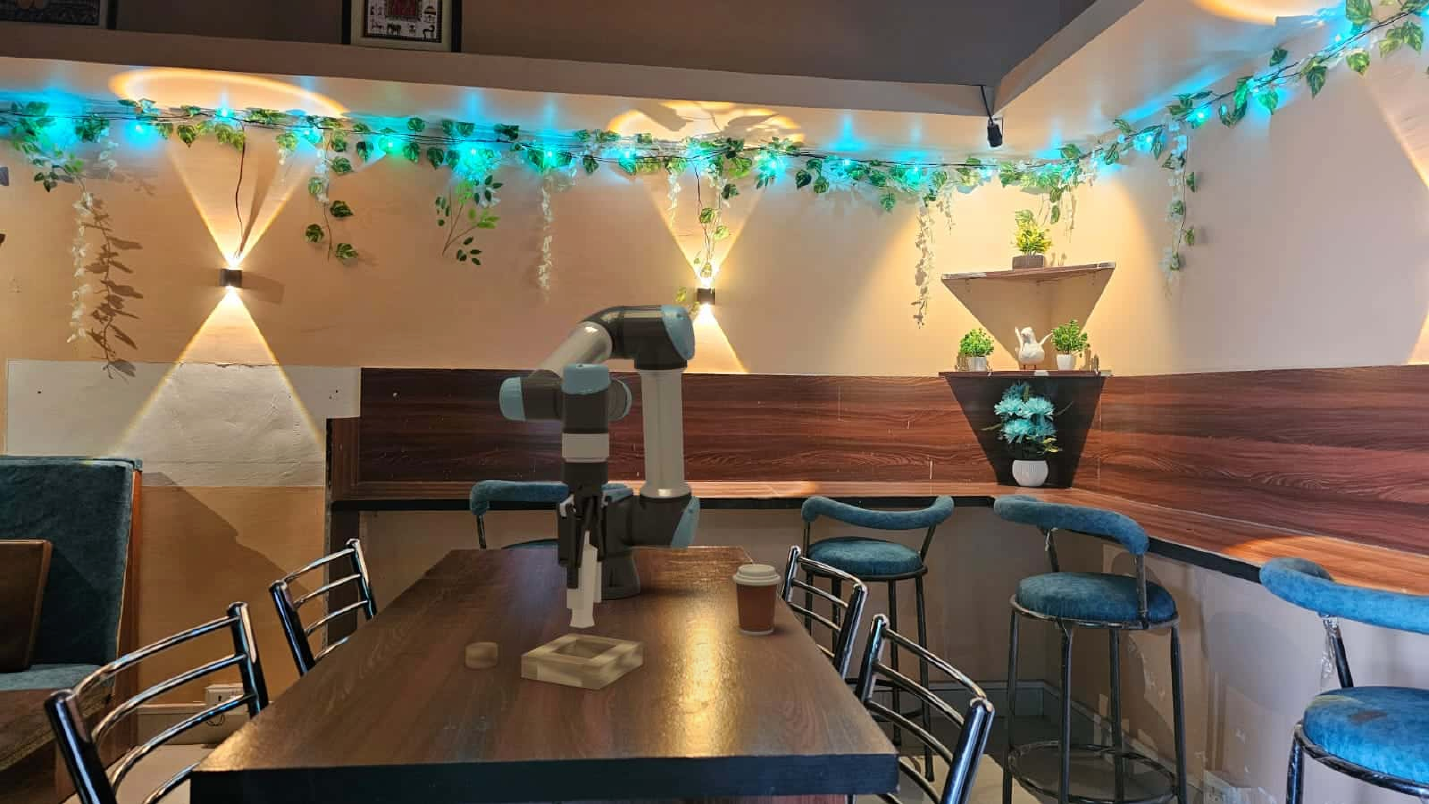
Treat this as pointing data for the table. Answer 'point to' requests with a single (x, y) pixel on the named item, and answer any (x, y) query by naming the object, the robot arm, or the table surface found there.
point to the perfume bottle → (586, 586)
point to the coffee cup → (756, 598)
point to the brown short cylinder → (481, 655)
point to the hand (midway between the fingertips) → (584, 604)
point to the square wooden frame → (582, 661)
